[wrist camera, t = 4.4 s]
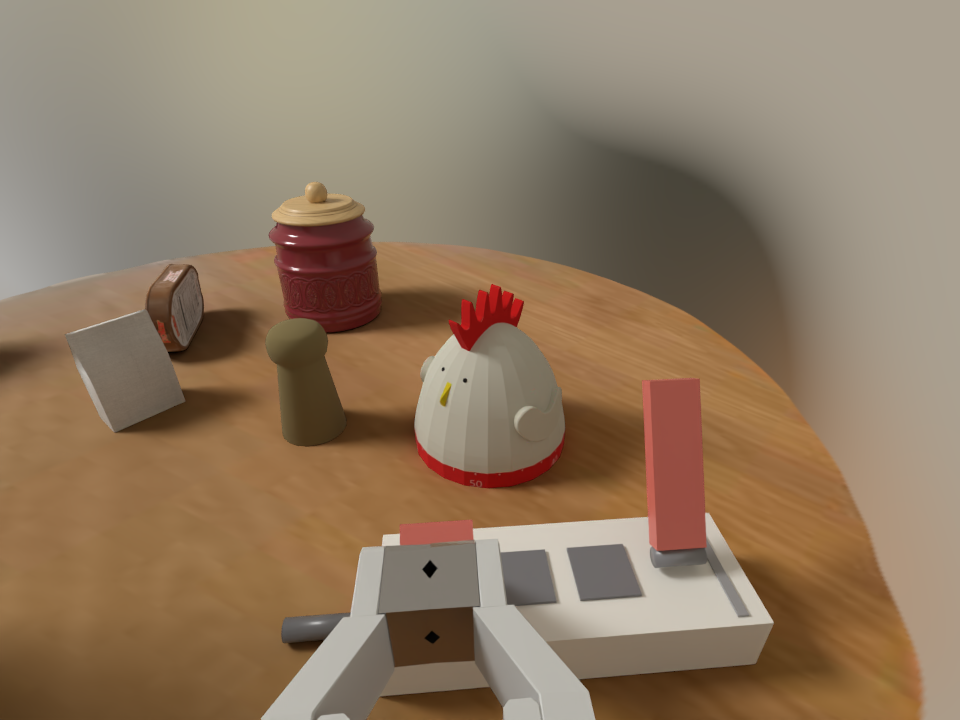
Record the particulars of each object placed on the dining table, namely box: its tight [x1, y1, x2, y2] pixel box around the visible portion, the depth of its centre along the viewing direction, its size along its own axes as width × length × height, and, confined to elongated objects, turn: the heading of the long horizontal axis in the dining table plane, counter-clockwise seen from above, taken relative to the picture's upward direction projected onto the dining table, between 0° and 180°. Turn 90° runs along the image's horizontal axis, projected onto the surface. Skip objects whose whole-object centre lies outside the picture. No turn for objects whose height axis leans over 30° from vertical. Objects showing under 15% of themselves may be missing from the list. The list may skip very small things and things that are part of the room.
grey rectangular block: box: [65, 309, 185, 433], centre depth 51 cm, size 4×7×10 cm, turn 140°
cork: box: [265, 318, 347, 446], centre depth 48 cm, size 6×6×11 cm
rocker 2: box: [642, 378, 707, 568], centre depth 32 cm, size 3×1×11 cm, turn 94°
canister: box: [269, 182, 382, 332], centre depth 69 cm, size 13×13×18 cm
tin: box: [145, 264, 204, 352], centre depth 66 cm, size 15×3×8 cm, turn 13°
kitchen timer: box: [414, 284, 565, 488], centre depth 46 cm, size 14×14×15 cm
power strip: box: [282, 513, 774, 696], centre depth 32 cm, size 28×8×4 cm, turn 94°
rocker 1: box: [400, 520, 474, 545], centre depth 26 cm, size 3×1×11 cm
